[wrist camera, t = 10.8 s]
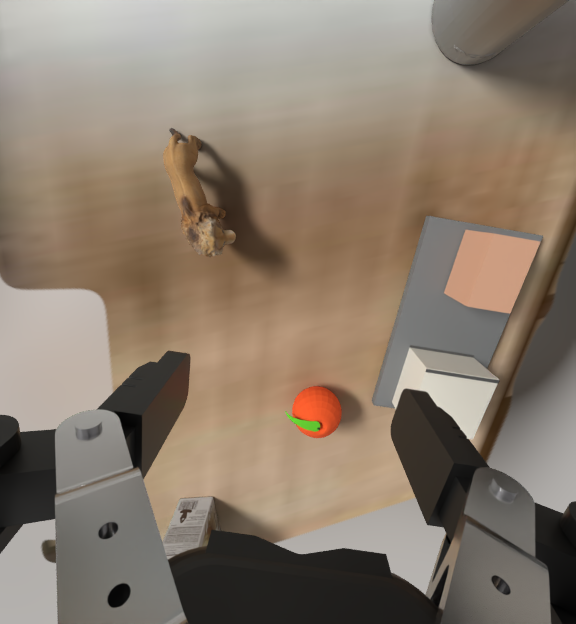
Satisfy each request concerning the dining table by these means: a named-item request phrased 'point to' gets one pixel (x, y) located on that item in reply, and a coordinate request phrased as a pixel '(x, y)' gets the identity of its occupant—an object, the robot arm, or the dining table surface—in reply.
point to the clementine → (316, 412)
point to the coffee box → (190, 525)
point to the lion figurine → (194, 198)
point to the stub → (490, 270)
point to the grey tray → (442, 332)
